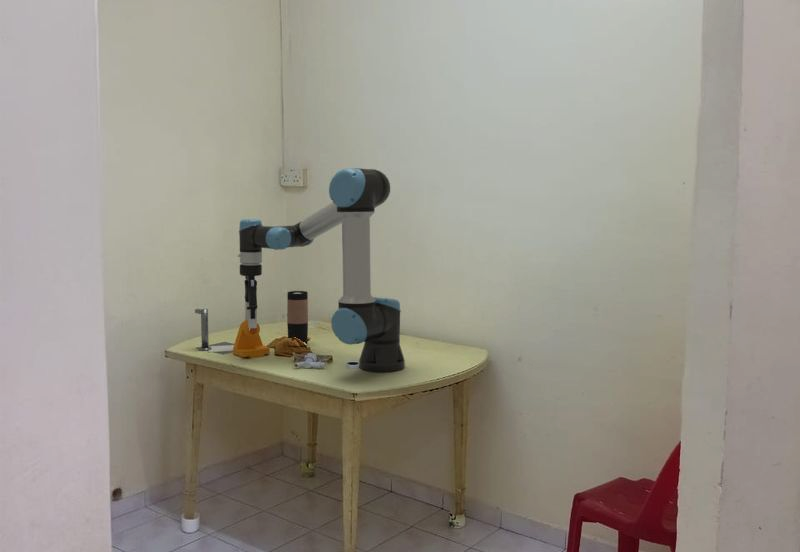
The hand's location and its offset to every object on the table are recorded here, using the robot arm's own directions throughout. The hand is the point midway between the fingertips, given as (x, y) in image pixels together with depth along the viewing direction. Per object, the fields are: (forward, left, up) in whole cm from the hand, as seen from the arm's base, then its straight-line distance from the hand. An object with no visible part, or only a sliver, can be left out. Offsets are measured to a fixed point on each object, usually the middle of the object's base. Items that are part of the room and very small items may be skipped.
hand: (250, 324), depth 250 cm
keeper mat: (+11, +8, -11) cm, 18 cm away
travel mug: (+13, -18, -11) cm, 25 cm away
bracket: (0, 0, -11) cm, 11 cm away
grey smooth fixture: (+11, +16, -10) cm, 22 cm away
